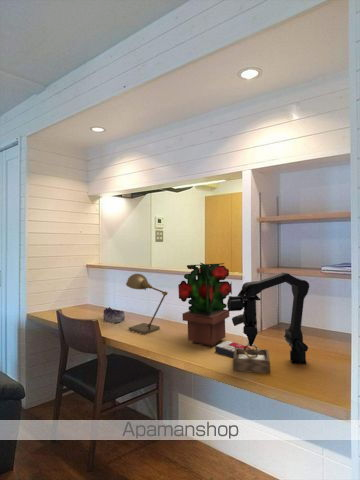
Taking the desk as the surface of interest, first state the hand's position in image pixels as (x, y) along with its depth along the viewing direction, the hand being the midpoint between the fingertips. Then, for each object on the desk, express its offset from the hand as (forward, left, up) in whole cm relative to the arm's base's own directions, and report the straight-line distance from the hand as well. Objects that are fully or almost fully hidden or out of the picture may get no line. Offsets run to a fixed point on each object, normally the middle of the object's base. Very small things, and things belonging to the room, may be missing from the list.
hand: (250, 342), depth 154 cm
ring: (0, 0, -8) cm, 8 cm away
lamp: (+65, -46, -11) cm, 80 cm away
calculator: (+9, -16, -12) cm, 21 cm away
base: (0, 0, -11) cm, 11 cm away
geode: (+100, -69, -11) cm, 122 cm away
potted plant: (+25, -30, -11) cm, 41 cm away
